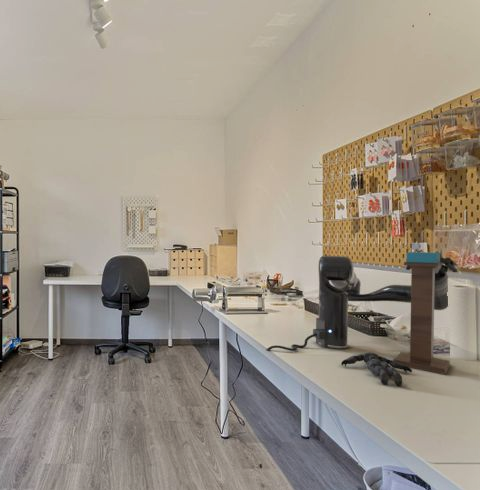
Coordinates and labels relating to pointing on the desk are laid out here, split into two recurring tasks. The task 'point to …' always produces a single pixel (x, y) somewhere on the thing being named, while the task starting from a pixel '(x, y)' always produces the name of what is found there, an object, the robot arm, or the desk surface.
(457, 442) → the desk surface
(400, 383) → the dark grey jointed piece
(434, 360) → the stand
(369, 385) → the desk surface
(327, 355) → the desk surface
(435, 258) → the back pad
